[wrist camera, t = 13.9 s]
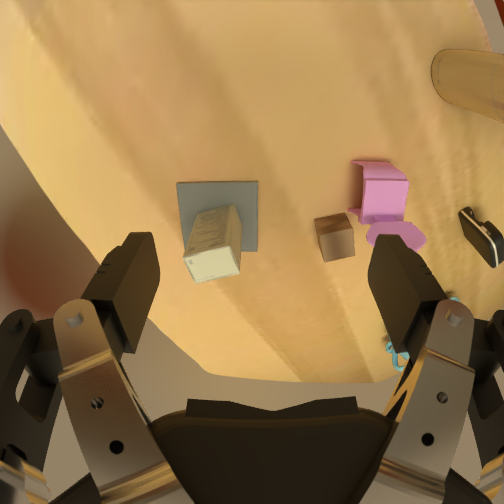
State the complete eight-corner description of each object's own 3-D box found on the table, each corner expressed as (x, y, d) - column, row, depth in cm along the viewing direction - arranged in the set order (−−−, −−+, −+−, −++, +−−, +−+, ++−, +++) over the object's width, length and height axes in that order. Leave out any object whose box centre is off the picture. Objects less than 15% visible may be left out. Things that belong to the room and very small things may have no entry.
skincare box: (206, 235, 48) (193, 285, 38) (196, 211, 46) (180, 258, 36) (244, 226, 47) (241, 275, 37) (235, 201, 45) (229, 246, 35)
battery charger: (478, 227, 47) (509, 261, 37) (464, 237, 48) (494, 273, 39) (471, 201, 44) (506, 233, 34) (456, 211, 45) (490, 246, 36)
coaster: (257, 181, 44) (257, 182, 43) (257, 249, 50) (257, 251, 50) (177, 182, 44) (176, 183, 43) (185, 249, 50) (185, 251, 50)
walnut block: (344, 212, 46) (352, 228, 42) (347, 238, 49) (355, 255, 45) (314, 218, 47) (319, 235, 43) (318, 244, 50) (324, 262, 46)
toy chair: (394, 159, 41) (444, 201, 28) (388, 209, 46) (428, 264, 33) (344, 157, 41) (381, 200, 29) (340, 210, 46) (369, 268, 34)
